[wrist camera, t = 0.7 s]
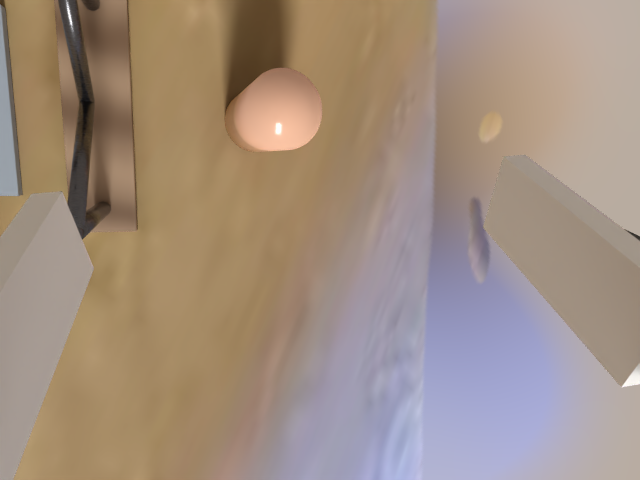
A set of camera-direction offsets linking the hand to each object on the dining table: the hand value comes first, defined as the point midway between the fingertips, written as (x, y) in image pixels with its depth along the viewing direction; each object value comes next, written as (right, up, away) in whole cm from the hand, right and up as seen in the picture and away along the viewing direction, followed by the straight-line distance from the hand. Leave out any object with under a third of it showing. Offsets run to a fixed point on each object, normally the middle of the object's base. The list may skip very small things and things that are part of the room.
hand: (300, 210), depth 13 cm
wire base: (-18, +10, +22) cm, 30 cm away
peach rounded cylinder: (-6, +10, +26) cm, 29 cm away
